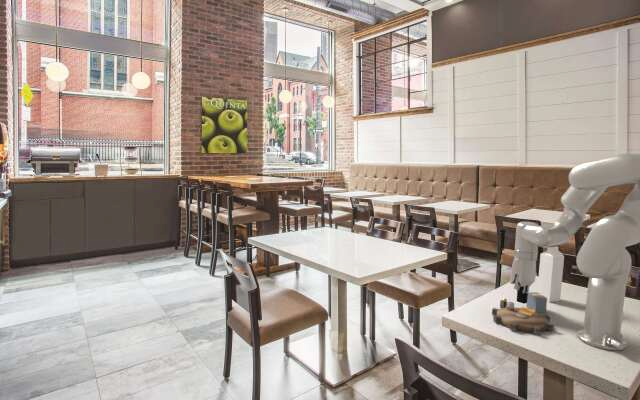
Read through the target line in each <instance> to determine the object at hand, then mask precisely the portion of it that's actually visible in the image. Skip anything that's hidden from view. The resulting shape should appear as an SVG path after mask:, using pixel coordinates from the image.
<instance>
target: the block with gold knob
mask: <svg viewBox="0 0 640 400" xmlns="http://www.w3.org/2000/svg"><path fill="white" fill-rule="evenodd" d="M507 302H508V301H507V298H502V299H500V302H499V303H500V304H499V309H501V308H505V305H507Z"/></svg>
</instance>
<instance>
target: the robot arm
mask: <svg viewBox="0 0 640 400" xmlns="http://www.w3.org/2000/svg"><path fill="white" fill-rule="evenodd" d="M568 182H569V184H570V185H569V187H568V188H567V190H566V191H565V192H564V193H563V194H562V196H561V197H560V203H561V204H562V206H563V210H562V213H561V215H560V216H559V217H558V218H557V219H556V221H555V222H554V223H553V224H546V225H544V224H543V225H540V224H538V223H537V222H536V223H535V222H534V221H533V222H532V221H519V222H518V223H517V224H516V227H515V228H516V229H515V243H514V254H513V257H514V258H513V262H512V265H511V271H510V279H509V282H510V284H511V285H514V286H513V289H514V290H516V292H517V293H516V302H518V303H521V304H523V305H525V304H527V298H528V292H530V287H531V286H532V285H533V283H535V282H536V275H537V274H536V273H537V261H538V249H539V247H540V248H548V247H555V246H559V245H564V244H565V243H567V242H568V241H569V240H570V239H571V238H572V237H573V236H574V235H575V234H576V233H577V232H578V231H579V229H580V228H581V227H582V225H583V222H584V220H585V217H586V214H587V212H588V211H589V209H590V208H591V207H592V206H593V204H595V202H596V201H597V200H598V199H599V198H600V197H601V195H602V194H603V193H604V192H605V191H606V189H608V187H613V186H614V187H615V186H620V185H628V184H629V185H630V184H634V188H633V189H632V190H631V191H630V192H629V194H628V195H627V196H626V197H625V199H624V201H623V203H622V205H621V206H620V207H619V210H617V211H616V213H615V214H613V215H607V216H604V217H602V218H600V219H599V220H598V221H596V223H594V225H593V227H592V228H591V230H589V233H588V235H587V236H586V238H585V240H584V242H583V244H582V245H581V247H580V249H579V251H578V253H577V256H576V259H575V260H576V267H577V269H578V271H579V272H580V273H581V274H582V275H584V276H585V277H586V278H588V283H587V290H586V299H585V300H586V301H585V310H584V318H583V319H584V321H583V328H582V329H579V330H578V331H577V333H576V336H577V338H578V339H579V340H580V341H581V342H583V343H584V344H585V343H586V344H588V345H589V346H591V347H595V348H598V349H599V348H600V349H603V350H609V351H621V350H625V348H627V347H628V346H629V343H628V342H627V341H625V340H623V338H624V334H623V333H622V323H623V314H624V304H625V298H626V292H627V291H626V289H627V284H628V279H629V275H630V272H631V270H632V269H631V268H632V257H631V255H630V252H629V251H628V250H627V249H626V247H630V246H634V245H637V244H639V243H640V153H622V154H616V155H612V156H608V157H603V158H599V159H593V160H590V161H584V162H581V163H579V164H576V165H575V166H573V167H572V169H571V170H570V171H569V173H568Z"/></svg>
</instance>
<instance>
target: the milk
mask: <svg viewBox="0 0 640 400" xmlns="http://www.w3.org/2000/svg"><path fill="white" fill-rule="evenodd" d="M546 248H547V250H546V251H544V252H541V253H540V255H539V256H540V258H539V268H538V269H539V271H538V282H537V291H536V292H538V293H540V294H541V295H543V296H545V297H546V298H547V303H553V302H554V303H555V302H561V296H562V294H561V293H562V286H563V285H562V284H563V273H564V265H565V262H564V261H565V255H564V254H563V253H562V252H560V250H559V246H550V247H546Z"/></svg>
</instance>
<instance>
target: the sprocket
mask: <svg viewBox="0 0 640 400" xmlns="http://www.w3.org/2000/svg"><path fill="white" fill-rule="evenodd" d="M535 311H536V310H533V309H530V308H527V307H526V306H525V307H524V306H522V307H521V308H520V307H515V303H514V302H513V301H507V305H505V308H496V307H493V308H492V310H491V315H493V316H492V317H493V318H492V321H493V322H494V323H496V324H498V323H499V324H502V325H504V326H506V327H508V328H510V329H509V330H510V331H512V332H516V331H517V330H518V331H522V332H527V333H528V332H529V333H533V334H534V335H535V336H536V335H538V336H539V335H541V332H544V331H550V332H553V331H554V330H555V329H554V328H555V324H554V323H551V317H550V315H548V314H542V313H537V312H535Z"/></svg>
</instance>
